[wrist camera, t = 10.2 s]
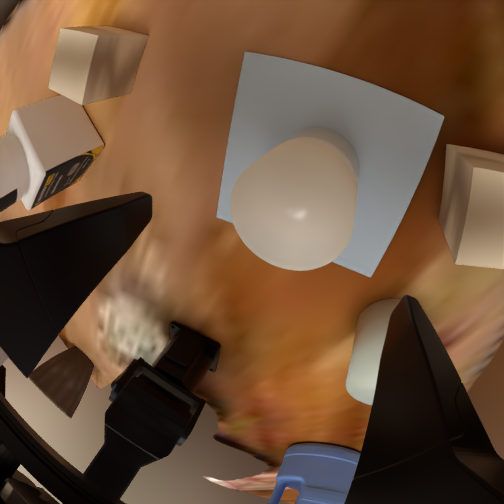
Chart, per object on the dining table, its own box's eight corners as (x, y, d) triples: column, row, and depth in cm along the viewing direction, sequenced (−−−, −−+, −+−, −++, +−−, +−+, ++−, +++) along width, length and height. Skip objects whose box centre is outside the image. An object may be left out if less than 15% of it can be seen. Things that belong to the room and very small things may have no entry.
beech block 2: (499, 227, 14) (526, 271, 10) (438, 220, 15) (455, 264, 12) (511, 156, 11) (550, 184, 7) (445, 143, 13) (473, 166, 9)
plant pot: (78, 361, 68) (47, 397, 56) (55, 327, 59) (18, 367, 47) (112, 383, 63) (80, 426, 51) (89, 350, 55) (49, 398, 43)
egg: (343, 217, 18) (327, 286, 12) (270, 189, 18) (222, 244, 13) (370, 145, 14) (373, 183, 9) (288, 116, 15) (241, 137, 10)
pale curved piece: (401, 355, 22) (397, 412, 18) (345, 335, 24) (332, 393, 19) (438, 313, 19) (445, 375, 14) (376, 288, 20) (371, 351, 15)
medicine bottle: (78, 182, 26) (-11, 239, 17) (51, 132, 24) (-39, 177, 14) (106, 145, 22) (-8, 204, 13) (75, 89, 20) (-37, 129, 10)
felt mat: (370, 274, 19) (370, 277, 19) (218, 214, 22) (216, 217, 21) (442, 115, 12) (444, 116, 12) (247, 51, 14) (245, 51, 14)
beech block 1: (131, 93, 18) (81, 105, 15) (94, 78, 18) (48, 88, 15) (149, 35, 15) (98, 35, 11) (109, 26, 15) (60, 27, 11)
